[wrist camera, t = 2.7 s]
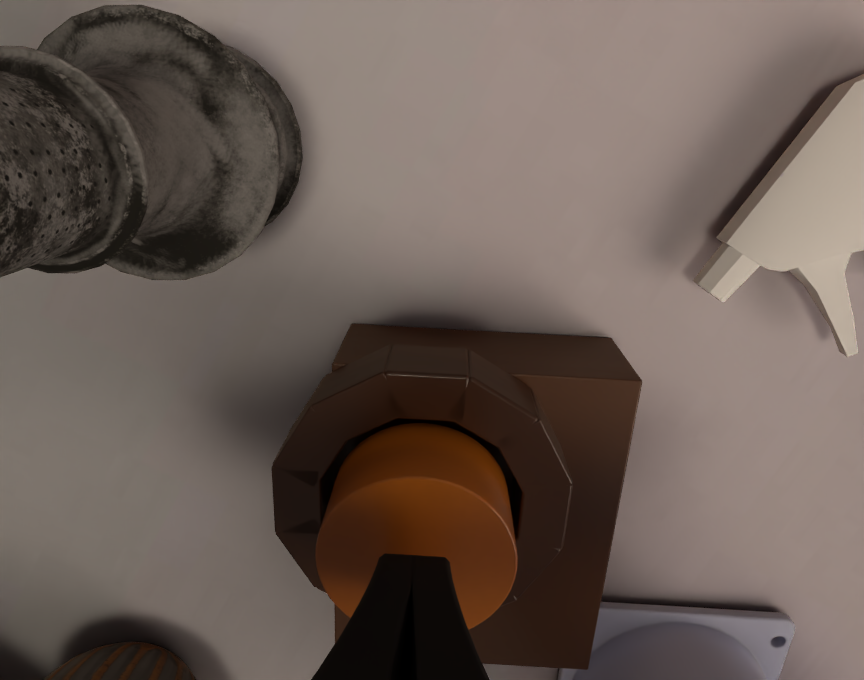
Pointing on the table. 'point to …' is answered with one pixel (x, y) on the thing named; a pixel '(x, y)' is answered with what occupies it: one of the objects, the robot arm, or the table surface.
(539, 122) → the table surface
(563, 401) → the brown button base
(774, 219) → the spray bottle
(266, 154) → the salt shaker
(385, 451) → the orange button
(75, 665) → the vase
